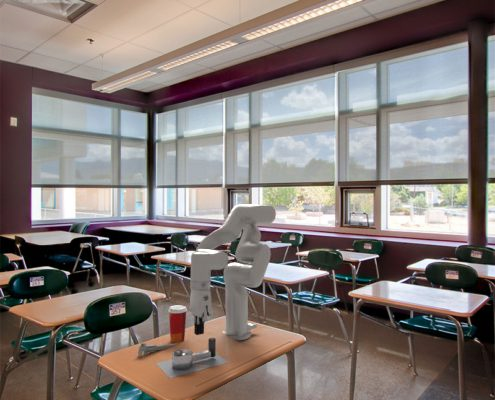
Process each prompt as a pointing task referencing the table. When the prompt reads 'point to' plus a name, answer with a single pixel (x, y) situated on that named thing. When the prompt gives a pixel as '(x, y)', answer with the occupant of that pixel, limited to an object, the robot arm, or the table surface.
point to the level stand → (197, 365)
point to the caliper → (152, 348)
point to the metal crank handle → (192, 356)
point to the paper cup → (177, 323)
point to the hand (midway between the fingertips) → (199, 333)
